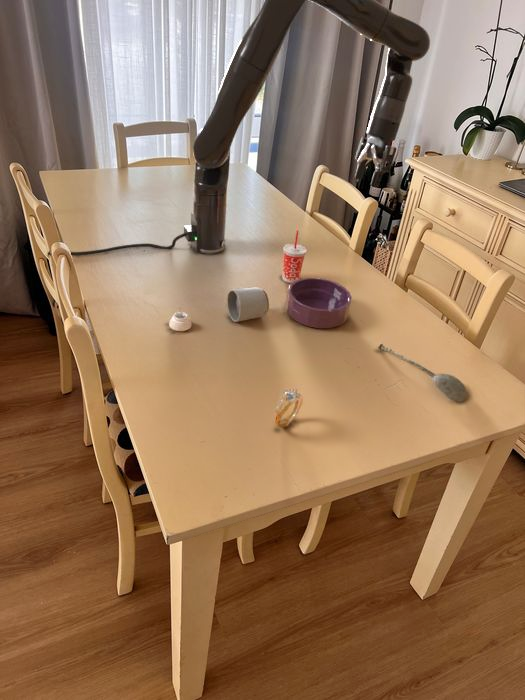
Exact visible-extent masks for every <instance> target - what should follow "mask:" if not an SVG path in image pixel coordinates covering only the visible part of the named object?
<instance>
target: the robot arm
mask: <svg viewBox="0 0 525 700" xmlns="http://www.w3.org/2000/svg"><path fill="white" fill-rule="evenodd" d="M306 1H307V0H264V2H263V5H262V7H261V8H260V11H259V12H258V14H257V15H256V17H255V18H254V20H253V21H252V23H251V24H250V26H249V27H248V29H247V30H246V32H245V33H244V35H243V36H242V38H241V39H240V41H239V43H238V45H237V47H236V49H235V51H234V53H233V55H232V57H231V59H230V62H229V64H228V66H227V69H226V71H225V73H224V77H223V79H222V81H221V85H220V88H219V90H218V94H217V97H216V101H215V103H214V105H213V108H212V110H211V112H210V115H209V117H208V118H207V120H206V122H205V123H204V126H203V128H201V129H200V130H199V131H198V133H197V135H196V137H195V138H194V141H193V144H192V154H193V158H194V161H195V167H194V175H193V176H194V177H193V197H192V199H193V202H192V204H193V205H192V209H193V210H192V212H191V213H190V224H189V225H183V233H181V234H179V235H177V236H176V237H174V238H173V240H172V242H171V245H167V246H166V245H159V244H154V243H149V242H148V243H146V242H145V243H131V244H123V245H117V246H112V247H108V248H107V247H106V248H102V249H101V248H100V249H93V250H86V251H70V250H69V251H70V252H71V255H70V256H86V255H95V254H103V253H109V252H113V251H117V250H124V249H132V248H133V249H134V248H145V247H146V248H154V249H162V250H172V249H173V248H175V246H176V243H177V241H179V240H180V239H182V238H185V240H186V241H187V243H190V245H191V247H192V248H193V250H194V251H195V253H201V254H208V255H214V254H219V253H221V252H223V251H224V250H225V246H226V239H227V238H226V222H227V221H226V220H227V204H228V203H227V201H228V185H229V179H230V178H229V177H230V163H231V147H232V144H233V141H234V139H235V136H236V134H237V132H238V129H239V128H240V125H241V124H242V121H243V120H244V118H245V117H246V115H247V114H248V112H249V110H250V109H251V107H252V106H253V105H254V103H255V101H256V99H257V97H258V96H259V94H260V92H261V91H262V89H263V87H264V85H265V83H266V81H267V79H268V77H269V75H270V73H271V71H272V69H273V67H274V65H275V63H276V60H277V58H278V55H279V53H280V51H281V49H282V46H283V44H284V42H285V39H286V37H287V34H288V33H289V30H290V28H291V26H292V24H293V22H294V20H295V19H296V17H297V16H298V14H299V13H300V11H301V9H302V8H303V7H304V4H305V3H306ZM308 1H309V2H312V3H313V4H316V5H317V6H319V7H321V8H323V9H324V10H325V11H327V12H328V13H330V14H332V15H333V16H334V17H336V18H337V19H338V20H340V21H341V22H342V23H344V24H345V25H346V26H347V27H349V28H351V30H353V31H355V32H356V33H358V34H359V35H361V36H362V37H364V38H366V39H367V40H369V41H371V42H372V43H375V44H377V45H382V46H385V47H386V48H388V51H387V56H386V63H385V73H384V77H383V81H382V83H381V87H380V90H379V94H378V96H377V99H376V101H375V103H374V107H373V108H372V109H373V110H372V112H371V115H370V120H369V122H368V127H367V129H366V134H367V135H368V136H369V137H364V136H362V137H361V138H360V141H359V144H358V147H357V150H356V152H355V156H354V160H355V161H357V167H356V169H355V173H354V176H353V177H354V179H356V180H359V181H362V180H363V178H364V175H365V172H366V169H367V166H368V164H369V162H370V161H372V162H373V164H374V169H375V170H374V172H373V175H372V177H371V181H370V184H369V185H370V187H371V188H375V189H376V188H377V189H378V188H379V186H380V184H381V180H382V178H383V175H384V174H385V173H390V172H391V169H392V167H393V164H394V159H395V156H396V152H397V147H395V146H392V145H391V142H394V141H396V138H397V135H398V132H399V129H400V125H401V123H402V120H403V116H404V114H405V109H406V105H407V101H408V98H409V95H410V92H411V89H412V87H413V77H412V75H411V71H412V65H413V62H417V61H419V60H421V59H423V58H424V57H425V56H426V55H427V54H428V52H429V50H430V46H431V39H430V35H429V33H428V31H427V30H426V29H425V28H424V27H423V26H421V24H418V23H416V22H414V21H412V20H410V19H409V18H405V17H403V16H401V15H399V14H396V13H394V12H393V11H392V10H390V9H389V8H387V6H385V5H383V4H382V3H381V2H379V1H377V0H308ZM386 164H387V165H386ZM50 251H51V250H49V251H48V253H47V255H49V256H50V255H51V254H50Z"/></svg>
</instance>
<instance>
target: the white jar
mask: <svg viewBox="0 0 525 700" xmlns="http://www.w3.org/2000/svg"><path fill="white" fill-rule="evenodd" d="M168 325H169V327H170V329H172V330H173V331H177V332H184V331H187V330H190V329H191V328H192V320H191V319H190V317H189V316H188V314H187V313H186V312H184V311H177V312H175V313H173V316H171V318H170V320H169V324H168Z"/></svg>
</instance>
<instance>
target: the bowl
mask: <svg viewBox="0 0 525 700" xmlns="http://www.w3.org/2000/svg"><path fill="white" fill-rule="evenodd" d="M351 303H352V295H351V292H350V291H349V290H348V289H347V288H346V287H345V286H343V285H342V284H340V283H338V282H336V281H333V280H330V279H326V278H321V277H305V278H304V277H303V278H299V280H297V281H294V282H293V283H290V284H289V286H288V288H287V295H286V301H285V310H286V313H287V314H288V316H289V317H290V318H292V319H293V320H294V321H296V322H297V323H300V324H301V325H304V326H307V327H312V328H316V329H330V328H336V327H338V326H341V325H343V324H344V323H345V322H346V321H347V320H348V316H349V311H350V309H351Z"/></svg>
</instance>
